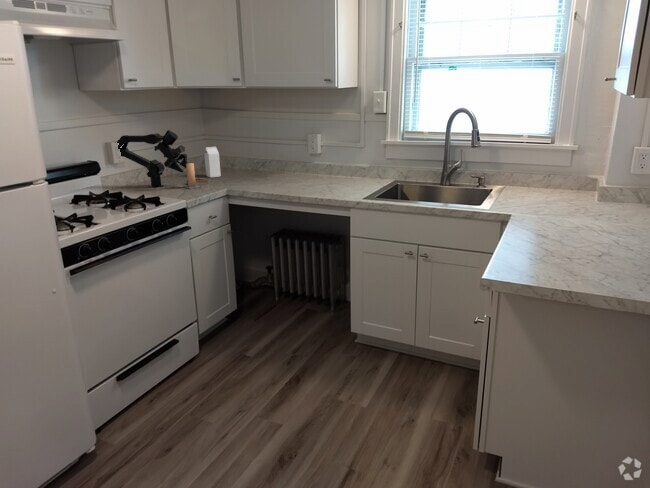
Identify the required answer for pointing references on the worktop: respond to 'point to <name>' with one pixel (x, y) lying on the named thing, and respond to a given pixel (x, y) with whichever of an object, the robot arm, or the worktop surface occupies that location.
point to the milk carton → (212, 162)
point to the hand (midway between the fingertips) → (186, 170)
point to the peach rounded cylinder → (190, 174)
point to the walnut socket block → (200, 181)
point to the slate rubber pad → (192, 187)
